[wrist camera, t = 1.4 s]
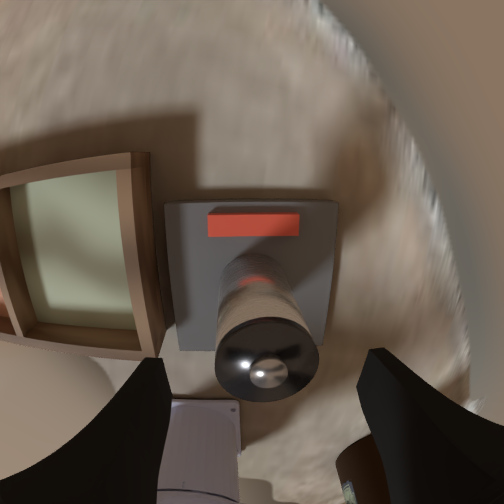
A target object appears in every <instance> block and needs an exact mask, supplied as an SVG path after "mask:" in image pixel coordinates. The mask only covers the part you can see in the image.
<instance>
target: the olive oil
mask: <svg viewBox="0 0 504 504" xmlns="http://www.w3.org/2000/svg"><path fill="white" fill-rule="evenodd" d="M336 468H337V472H338V475H339V479H340V482H341V486H342V490H343V494H344V498H345V502H346V504H391V500H390V494H389V488H388V483H387V479H386V474H385V470H384V466H383V462H382V459H381V456H380V453H379V451H378V448H377V446H376V443H375V441H374V438H373V436H372V435H370V436H368V437H366V438H363V439H361V440H359V441H358V442H356V443H354V444H353V445H351V446H350V447H348V448H347V449H346V450H344V451H343V452H342V453H341V454H340V455H339V457H338V458H337V460H336Z"/></svg>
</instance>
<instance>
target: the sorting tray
mask: <svg viewBox="0 0 504 504" xmlns="http://www.w3.org/2000/svg"><path fill="white" fill-rule="evenodd" d="M165 333H166V326H165V320H164V313H163V307H162V300H161V293H160V285H159V277H158V269H157V260H156V250H155V240H154V228H153V215H152V199H151V179H150V152H127V153H118V154H110V155H102V156H95V157H88V158H82V159H76V160H70V161H64V162H59V163H53V164H48V165H43V166H38V167H34V168H29V169H25V170H21V171H16V172H12V173H8V174H4V175H1V176H0V340H2V341H6V342H10V343H14V344H19V345H24V346H29V347H34V348H39V349H45V350H51V351H56V352H63V353H69V354H76V355H84V356H92V357H101V358H110V359H121V360H133V361H142V360H143V359H144V358H145V357H152V358H158V356H159V353H160V349H161V346H162V343H163V340H164V337H165Z"/></svg>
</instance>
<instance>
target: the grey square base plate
mask: <svg viewBox="0 0 504 504" xmlns="http://www.w3.org/2000/svg"><path fill="white" fill-rule="evenodd" d="M338 206H339V203H337V202H335V201H333V200H295V199H231V200H190V201H167V202H166V203H165V204H164V214H165V229H166V242H167V253H168V264H169V274H170V283H171V292H172V300H173V308H174V315H175V322H176V329H177V336H178V342H179V349H180V351H216V332H217V315H218V299H219V284H220V277H221V274H222V272H223V270H224V268H225V267H226V266H227V265H228V264H229V263H230V262H231V261H232V260H233V259H235V258H237V257H239V256H241V255H245V254H251V253H256V254H262V255H266V256H268V257H270V258H272V259H273V260H275V261H276V262H277V263H278V264H279V265H280V267H281V268H282V270H283V272H284V274H285V277H286V279H287V281H288V283H289V286H290V288H291V290H292V292H293V295H294V297H295V299H296V301H297V304H298V306H299V308H300V311H301V313H302V315H303V317H304V320H305V322H306V324H307V327H308V329H309V331H310V333H311V336H312V338H313V340H314V343H315V345H316V346H319V345H323V338H324V332H325V326H326V319H327V312H328V305H329V298H330V290H331V282H332V273H333V264H334V254H335V244H336V233H337V220H338Z"/></svg>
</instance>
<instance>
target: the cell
mask: <svg viewBox="0 0 504 504" xmlns="http://www.w3.org/2000/svg"><path fill="white" fill-rule="evenodd" d="M318 365H319V354H318V350H317V347H316V345H315V343H314V340H313V338H312V336H311V333H310V331H309V329H308V327H307V324H306V322H305V320H304V317H303V315H302V313H301V311H300V308H299V306H298V304H297V301H296V299H295V297H294V295H293V292H292V290H291V288H290V286H289V283H288V281H287V279H286V277H285V274H284V272H283V270H282V268H281V267H280V265H279V264H278V263H277V262H276V261H275V260H273V259H272V258H270V257H268V256H266V255H262V254H256V253H251V254H245V255H241V256H239V257H237V258H235V259H233V260H232V261H231V262H230V263H229V264H228V265H227V266H226V267H225V268H224V270H223V272H222V274H221V277H220V284H219V299H218V315H217V332H216V351H215V374H216V377H217V380H218V381H219V383H220V385H221V386H222V387H223V388H224V389H225V390H226V391H227V392H229V393H230V394H232V395H233V396H235V397H238V398H240V399H243V400H247V401H252V402H271V401H277V400H281V399H284V398H287V397H289V396H291V395H293V394H295V393H297V392H298V391H300V390H301V389H303V388H304V387H305V386H306V385H307V384H308V383H309V382H310V381H311V380H312V378H313V377H314V375H315V373H316V371H317V368H318Z"/></svg>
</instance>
